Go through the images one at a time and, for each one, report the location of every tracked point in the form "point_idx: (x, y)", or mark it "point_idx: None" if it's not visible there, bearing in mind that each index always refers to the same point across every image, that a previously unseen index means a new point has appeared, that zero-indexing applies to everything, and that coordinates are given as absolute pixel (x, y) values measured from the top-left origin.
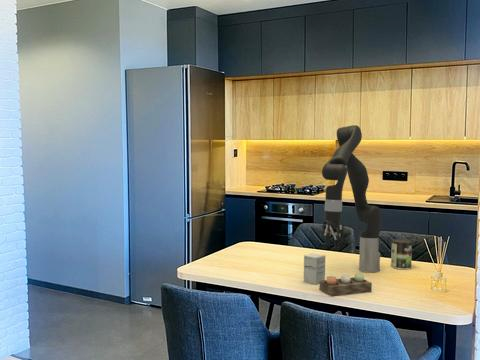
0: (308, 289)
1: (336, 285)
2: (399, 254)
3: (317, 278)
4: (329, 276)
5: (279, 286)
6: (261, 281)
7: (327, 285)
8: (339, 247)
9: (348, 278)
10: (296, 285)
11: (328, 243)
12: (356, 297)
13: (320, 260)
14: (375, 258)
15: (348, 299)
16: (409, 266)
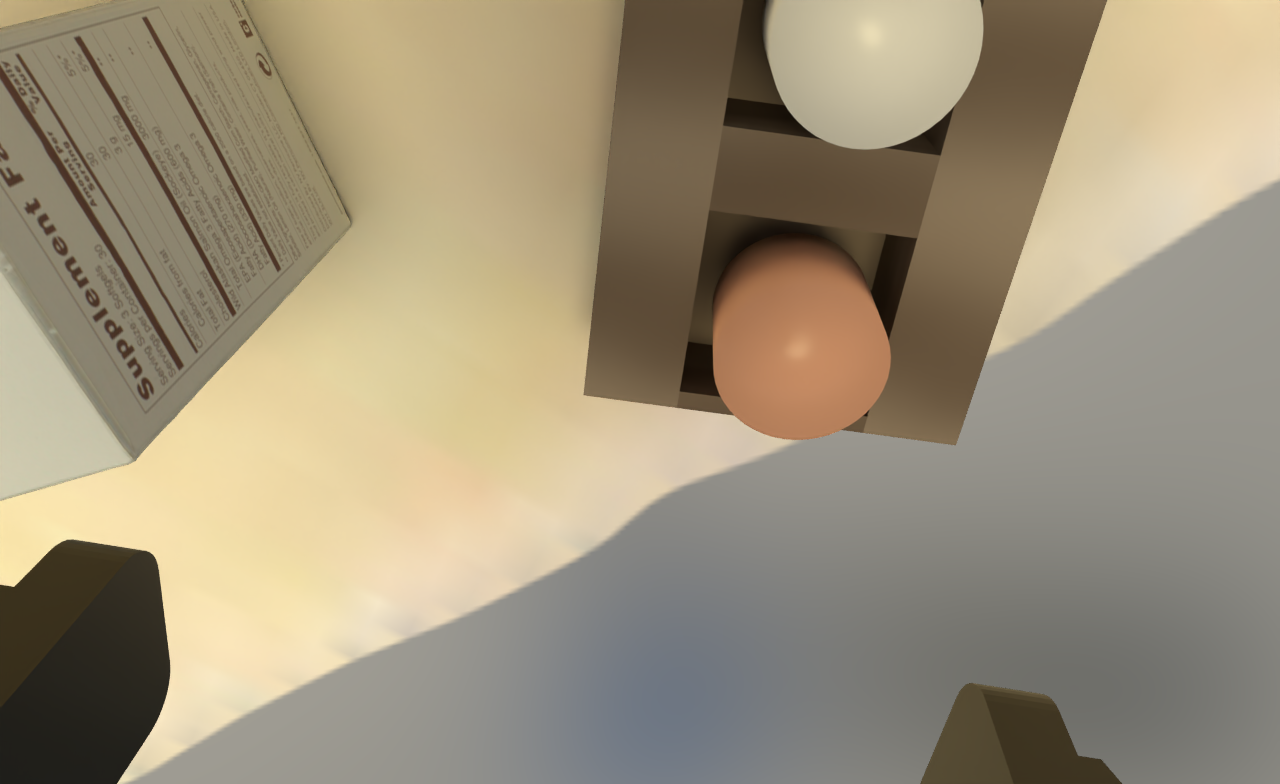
0: (520, 436)
1: (933, 322)
2: None
3: (303, 219)
4: (720, 350)
5: (287, 635)
6: None
7: None
8: (1048, 711)
9: (975, 44)
10: (304, 465)
11: (129, 633)
12: (1192, 68)
13: (96, 272)
14: None
15: (1166, 244)
16: None
